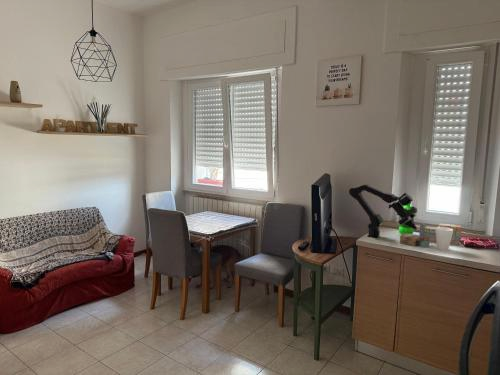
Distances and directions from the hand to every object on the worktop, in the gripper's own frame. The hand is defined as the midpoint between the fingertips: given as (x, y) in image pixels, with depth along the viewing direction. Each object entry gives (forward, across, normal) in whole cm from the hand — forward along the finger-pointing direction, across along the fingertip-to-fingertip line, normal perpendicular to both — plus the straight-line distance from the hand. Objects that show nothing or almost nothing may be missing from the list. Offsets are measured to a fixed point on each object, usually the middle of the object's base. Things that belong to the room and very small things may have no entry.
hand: (416, 229), depth 223 cm
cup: (+11, 0, +3) cm, 11 cm away
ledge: (+6, 0, +8) cm, 10 cm away
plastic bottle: (0, +19, +15) cm, 24 cm away
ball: (+10, 0, +1) cm, 10 cm away
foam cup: (+18, 0, -4) cm, 19 cm away
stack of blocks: (+15, +18, -1) cm, 23 cm away
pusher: (+6, 0, +1) cm, 6 cm away
